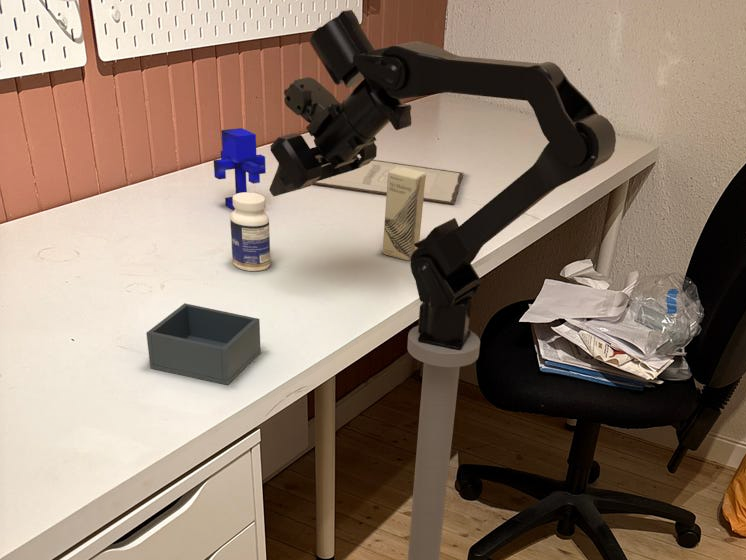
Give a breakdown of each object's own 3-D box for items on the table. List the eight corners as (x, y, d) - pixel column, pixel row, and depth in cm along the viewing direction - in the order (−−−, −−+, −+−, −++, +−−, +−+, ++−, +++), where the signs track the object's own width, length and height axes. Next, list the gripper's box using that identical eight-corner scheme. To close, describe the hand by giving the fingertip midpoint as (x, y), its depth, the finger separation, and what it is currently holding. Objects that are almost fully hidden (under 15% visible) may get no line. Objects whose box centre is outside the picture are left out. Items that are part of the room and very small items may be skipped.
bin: (260, 352, 125) (259, 318, 122) (227, 385, 117) (225, 349, 114) (187, 337, 125) (184, 302, 123) (150, 368, 118) (145, 332, 115)
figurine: (267, 204, 169) (265, 129, 161) (260, 217, 164) (257, 141, 156) (224, 198, 169) (220, 123, 161) (215, 212, 163) (210, 135, 155)
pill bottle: (230, 258, 148) (226, 190, 142) (267, 258, 150) (265, 191, 143) (235, 272, 144) (231, 203, 138) (273, 272, 146) (271, 203, 139)
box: (381, 254, 157) (385, 171, 148) (391, 247, 160) (395, 164, 152) (411, 261, 156) (416, 178, 147) (421, 254, 159) (426, 171, 151)
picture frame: (463, 173, 197) (319, 152, 197) (464, 172, 197) (319, 151, 196) (454, 204, 181) (297, 182, 180) (454, 203, 180) (297, 180, 180)
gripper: (361, 52, 131) (295, 123, 141) (281, 68, 117) (214, 145, 128) (407, 128, 134) (339, 192, 144) (334, 152, 120) (264, 221, 131)
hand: (291, 186), depth 136 cm, fingers open, 9 cm apart
